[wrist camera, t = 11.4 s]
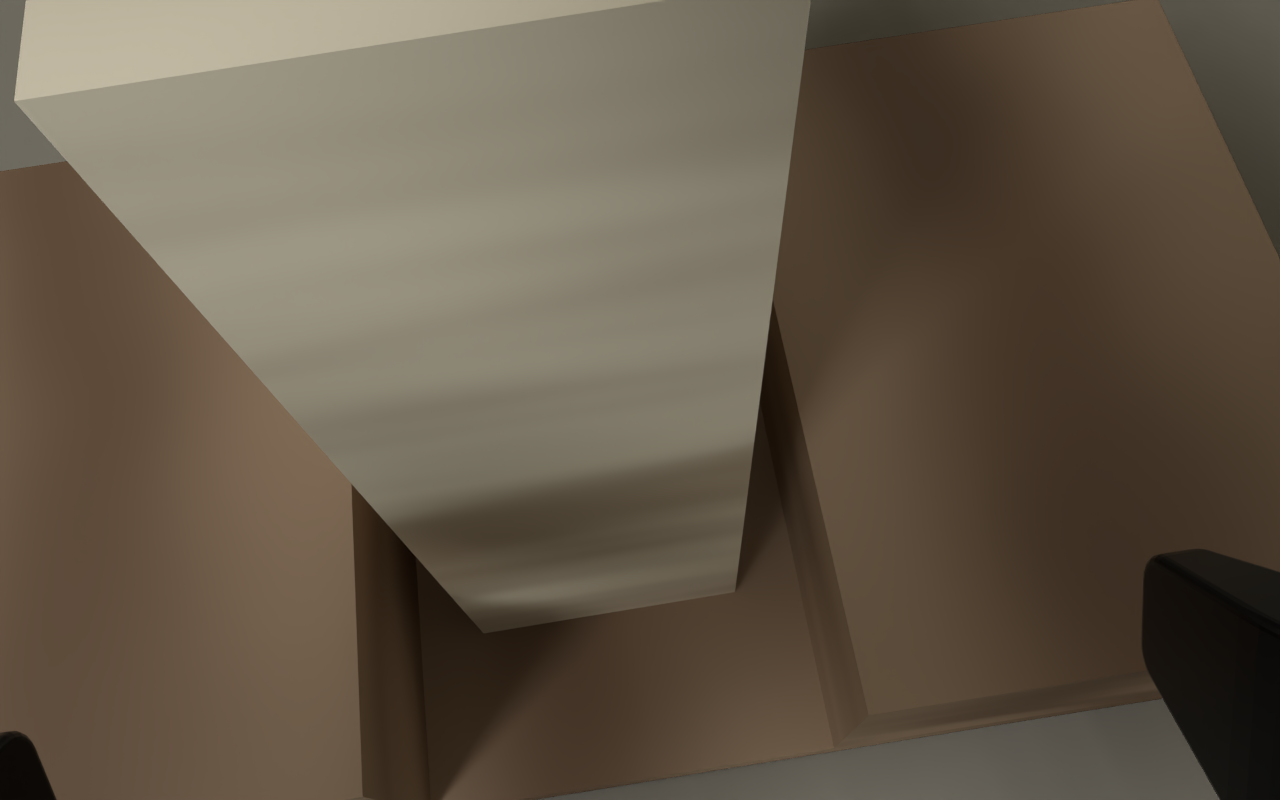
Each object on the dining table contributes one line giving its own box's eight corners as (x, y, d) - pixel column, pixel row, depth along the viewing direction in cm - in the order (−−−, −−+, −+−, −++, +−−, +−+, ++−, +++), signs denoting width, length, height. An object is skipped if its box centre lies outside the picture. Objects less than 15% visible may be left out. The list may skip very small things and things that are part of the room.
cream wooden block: (735, 591, 17) (814, -23, 5) (483, 633, 17) (14, 101, 5) (681, 316, 19) (654, -552, 7) (457, 352, 19) (81, -468, 7)
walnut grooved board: (1074, 154, 20) (1157, -3, 17) (1281, 679, 16) (1450, 621, 13) (36, 313, 20) (-111, 188, 16) (-24, 889, 16) (-239, 893, 12)
